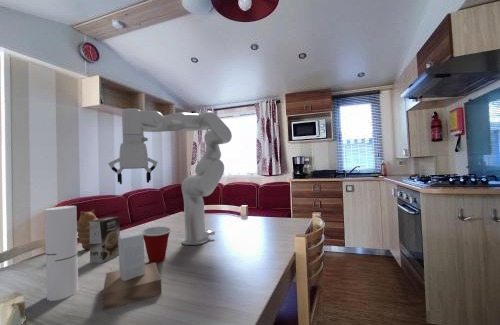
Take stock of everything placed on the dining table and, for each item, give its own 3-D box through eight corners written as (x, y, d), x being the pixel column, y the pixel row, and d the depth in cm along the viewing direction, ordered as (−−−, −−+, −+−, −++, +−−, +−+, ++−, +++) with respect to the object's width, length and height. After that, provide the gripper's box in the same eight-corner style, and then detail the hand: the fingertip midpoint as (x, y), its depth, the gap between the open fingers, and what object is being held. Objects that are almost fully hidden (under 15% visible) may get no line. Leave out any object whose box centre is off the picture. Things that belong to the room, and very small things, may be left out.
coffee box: (103, 263, 89) (102, 221, 90) (89, 262, 91) (88, 221, 91) (121, 254, 98) (120, 216, 99) (108, 253, 99) (107, 216, 100)
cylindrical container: (58, 288, 70) (57, 206, 71) (83, 286, 71) (81, 205, 72) (39, 302, 63) (38, 210, 64) (67, 299, 64) (65, 209, 65)
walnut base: (155, 274, 77) (155, 262, 77) (161, 293, 65) (161, 279, 65) (106, 286, 71) (106, 273, 71) (102, 309, 58) (102, 294, 58)
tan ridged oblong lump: (79, 254, 100) (79, 212, 101) (73, 250, 105) (73, 211, 106) (102, 248, 107) (101, 209, 108) (95, 245, 112) (95, 208, 113)
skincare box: (140, 270, 72) (139, 231, 72) (145, 274, 68) (144, 234, 69) (118, 277, 68) (117, 236, 68) (122, 282, 64) (121, 239, 65)
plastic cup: (153, 268, 82) (152, 234, 83) (136, 263, 88) (135, 231, 88) (177, 257, 91) (176, 227, 92) (160, 253, 97) (159, 224, 98)
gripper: (155, 141, 99) (156, 181, 99) (108, 141, 91) (109, 184, 91) (157, 139, 93) (159, 182, 92) (107, 138, 84) (108, 185, 84)
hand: (134, 183), depth 91 cm, fingers open, 9 cm apart
